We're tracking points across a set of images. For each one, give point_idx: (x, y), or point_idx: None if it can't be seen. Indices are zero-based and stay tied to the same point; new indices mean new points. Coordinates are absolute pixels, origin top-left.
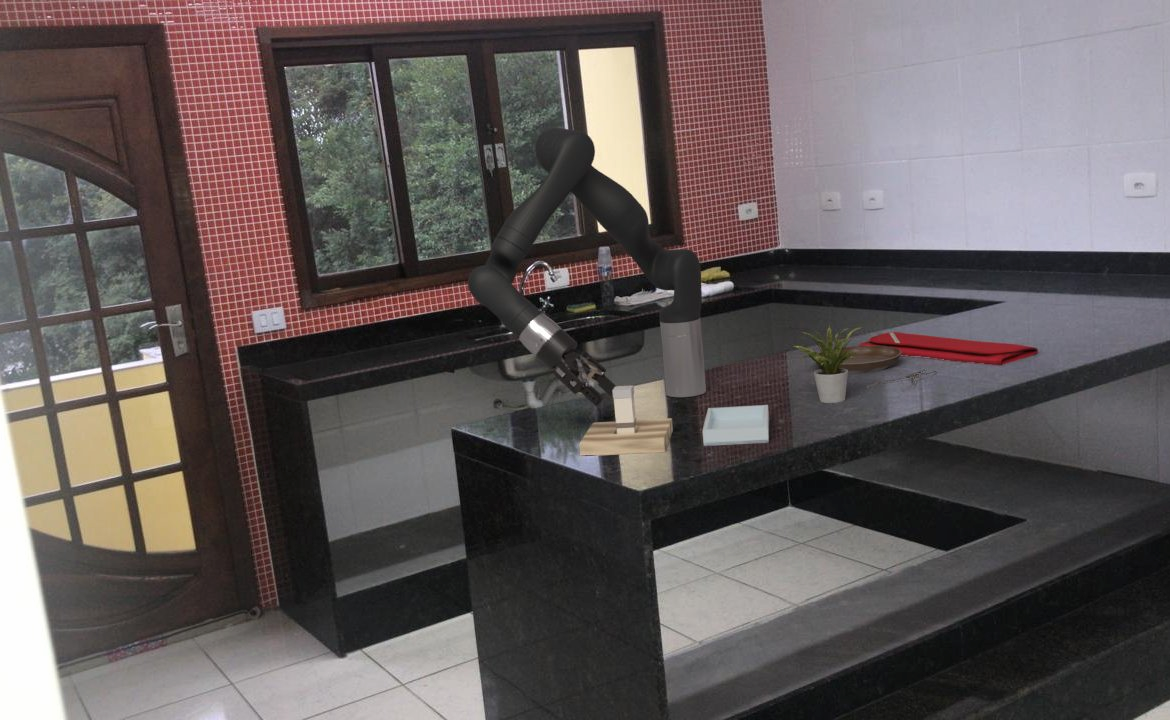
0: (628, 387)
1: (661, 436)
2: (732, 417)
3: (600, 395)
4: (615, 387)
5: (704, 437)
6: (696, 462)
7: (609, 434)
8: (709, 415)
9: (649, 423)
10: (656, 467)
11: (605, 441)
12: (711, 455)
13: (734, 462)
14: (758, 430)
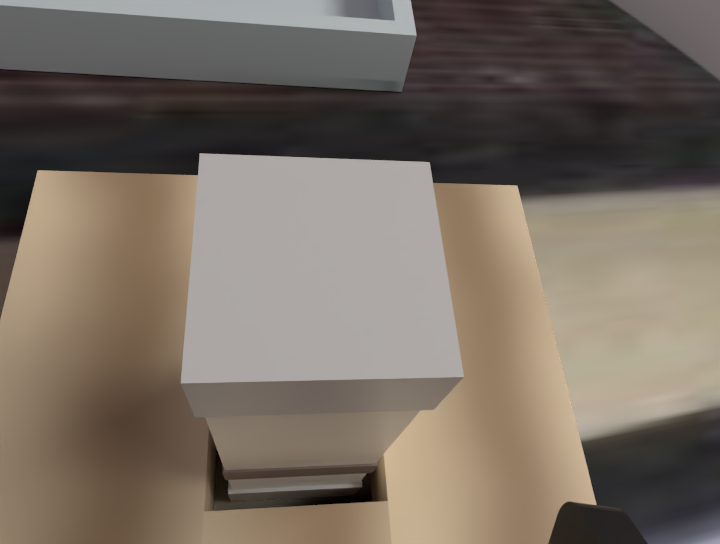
0: (312, 196)
1: (466, 198)
2: None
3: (630, 539)
4: (260, 365)
5: (409, 58)
6: (625, 114)
7: (394, 533)
8: (112, 2)
9: (131, 286)
10: (716, 240)
11: None
12: (532, 73)
13: (607, 21)
14: None
